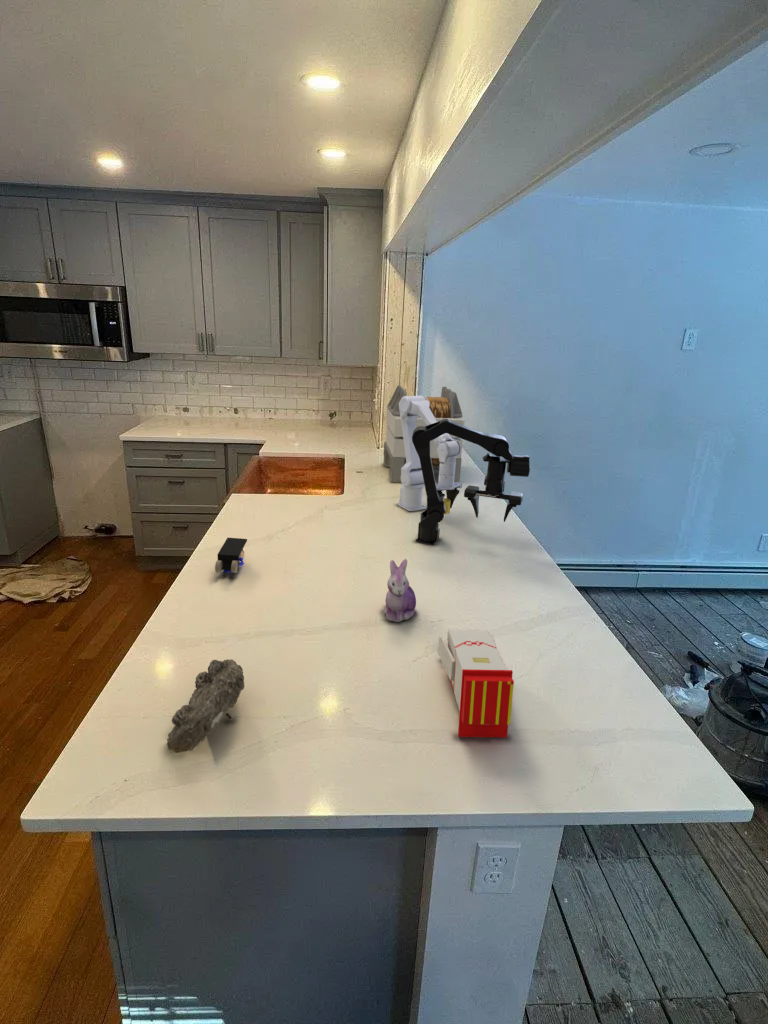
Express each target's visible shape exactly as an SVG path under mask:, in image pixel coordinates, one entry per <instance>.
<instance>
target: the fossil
mask: <svg viewBox="0 0 768 1024" xmlns="http://www.w3.org/2000/svg"><path fill="white" fill-rule="evenodd" d="M243 670H244V669H243V667H242V665H240V664H237V662H236V661H235V660H234V659H232V658H231V659H227V658H226V659H224V660H223V661H222V660H217V659H212V660H211V661H210V663H209V665H208V666H207V671H201V672H199V673H198V674H197V675H196V676H195V680H194V684H195V685H194V687H195V689H194V690H193V693H192V694H191V697H190V698H189V700H188V704H184V705H182V706H181V707H180V709H177V710H176V711H175V713H174V715H173V716H172V718H171V723H172V724H173V727H172V730H171V731H170V732H168V734H167V738H166V741H167V742H166V745H167V749H168V750H169V751H173V752H174V753H176V754H178V753H182V752H188V751H189V752H192V751H193V750H195V748H196V747H197V746H199V744H200V743H201V742H203V741H204V740H205V739H206V738H207V737H208V736H209V735H210V734H211V733H212V732H214V730H215V729H217V727H218V726H219V724H220V722H221V721H222V720H223V719H224V718H225V716H226V717H227V719H229V720H233V717H232V715H230V714H229V710H230V709H231V708H234V706H235V704H236V703H237V702H238V699H239V697H240V695H241V693H242V691H243V690H245V689H244V688H245V675H244V671H243Z"/></svg>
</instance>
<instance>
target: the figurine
mask: <svg viewBox="0 0 768 1024" xmlns="http://www.w3.org/2000/svg"><path fill="white" fill-rule="evenodd" d="M407 567H408V559H406V558H404V559H403V560H402V561H401V563H400V565H399V566H398V565H397V563H396V562H395V561H394V560H393V559H391V560H390V561H389V570H390V576H389V578H388V579H387V589H388V591H387V592H386V594H385V595H386V596H385V607H384V615H385V616H386V620H387V621H391V622H395V623H400V622H402V621H406V620H409V619H410V618H411V617H413V616H414V615H415V610H416V606H417V597H416V593H415V591H414V590H413V587H411V586H410V582H409V579H408V577H407V574H406V571H407Z"/></svg>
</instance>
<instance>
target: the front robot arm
mask: <svg viewBox="0 0 768 1024" xmlns="http://www.w3.org/2000/svg"><path fill="white" fill-rule="evenodd" d="M445 433H448V434H450V435H453V436H456V437H458V438H460V439H461V440H464V441H467V442H468V443H472V444H475V445H477V446H480V447H481V448H483V449H484V450H486V451H487V453H486V454H485V455H483V456H482V461H483V462H484V463H485V462H487V470H486V475H485V477H484V481H483V485H484V486H485V488H484V490H483V489H480V486H476V485H470V484H469V485H468V486H466V488H465V489H464V492H463V498H467V500H468V501H469V502H470V504H471V505H472V508H473V512H474V514H475V518H479V511H480V510H479V509H480V507H479V502H480V497H485V498H486V497H487V498H493V499H499V500H505V501H508V502H507V504H506V507H505V512H504V515H503V516H504V517H503V522H504V523H505V522H506V520H507V518H508V516H509V514H510V512H511V510H512V509H513V508H517V506H521V505H522V503H523V498H524V494H523V493H522V492H520V491H519V492H518V491H513V490H512V491H510V493H504V492H505V486H506V481H505V475H506V473H508V474H509V476H510V477H522V478H523V477H525V478H528V477H529V475H530V472H531V467H530V456H529V455H513V453H512V451H510V444H509V442H508V440H507V438H506V437H504V436H503V435H500V434H495V433H488V432H481V431H479V430H476V429H473V428H471V427H468V426H465V425H464V426H463V425H460V424H457V423H455V422H452V421H450V420H449V419H442V420H441V421H439V422H436V423H433V424H430V425H428V426H425V427H424V426H419V427H417V428H415V430H414V431H413V435H412V442H413V444H414V447H415V449H416V452H417V454H418V456H419V459H420V464H421V469H422V474H423V479H424V484H425V486H424V489H425V490H424V491H425V494H426V509H424V511H423V512H421V513H420V521H419V522H418V527H417V538H416V539H415V542H417V543H421V544H425V545H430V546H435V544H436V543H437V542H438V541H439V540H440V532H441V528H439V526H440V524H439V523H441V522H442V521H443V520H444V519H445V514H444V513H446V506H445V505H444V498H445V496H442V497H439V495H438V492H437V488H436V484H437V483H436V478H435V472H434V466H432V461H431V456H430V441H432V440H434V439H436V438H437V437H439V436H441V435H443V434H445Z"/></svg>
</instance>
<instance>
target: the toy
mask: <svg viewBox="0 0 768 1024" xmlns="http://www.w3.org/2000/svg"><path fill="white" fill-rule="evenodd" d="M446 640H447V643H446V641H445V639H444V636H443V635H442V634H439V637H438V646H437V656H438V657H439V659H440V661H441V663H442V666H443V668H444V670H445V672H446V674H447V677H448V679H449V681H450V684H451V687H452V690H453V693H454V697H455V701H456V705H457V708H458V711H459V714H458V715H459V716H458V730H457V731H458V732H457V737H458V738H508V731H509V726H510V725H511V717H512V707H513V697H514V696H513V695H514V684H515V680H514V679H513V673H514V671H513V670H512V669H508V667H507V665H506V662H505V661H504V659H503V658H502V655H501V653H500V651H499V649H498V647H497V643H496V639H495V637H494V635H493V634H491V632H490V631H489V629H467V628H466V629H465V628H463V629H461V628H460V629H459V628H448V630H447V639H446Z"/></svg>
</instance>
